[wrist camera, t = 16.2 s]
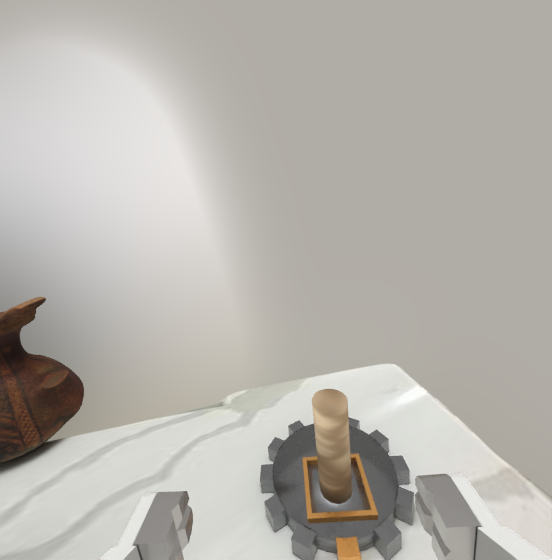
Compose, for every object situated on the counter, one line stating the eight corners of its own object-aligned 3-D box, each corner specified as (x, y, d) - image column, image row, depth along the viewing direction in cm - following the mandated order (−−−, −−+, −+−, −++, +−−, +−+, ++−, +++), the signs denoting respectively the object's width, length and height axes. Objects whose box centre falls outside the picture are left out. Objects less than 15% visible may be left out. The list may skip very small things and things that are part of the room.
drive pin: (322, 504, 35) (314, 413, 32) (317, 473, 39) (310, 390, 36) (355, 503, 35) (351, 410, 32) (348, 471, 39) (343, 387, 36)
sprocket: (256, 577, 31) (252, 556, 30) (266, 430, 52) (264, 415, 51) (449, 568, 29) (450, 546, 29) (379, 422, 50) (379, 407, 50)
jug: (-60, 514, 42) (-149, 340, 35) (-36, 441, 58) (-95, 311, 51) (99, 431, 56) (57, 296, 50) (83, 391, 72) (50, 284, 65)
